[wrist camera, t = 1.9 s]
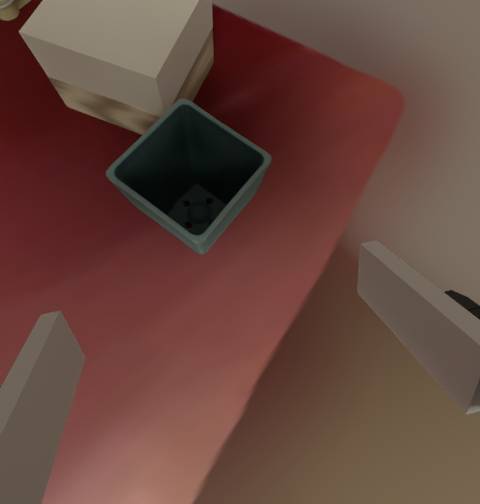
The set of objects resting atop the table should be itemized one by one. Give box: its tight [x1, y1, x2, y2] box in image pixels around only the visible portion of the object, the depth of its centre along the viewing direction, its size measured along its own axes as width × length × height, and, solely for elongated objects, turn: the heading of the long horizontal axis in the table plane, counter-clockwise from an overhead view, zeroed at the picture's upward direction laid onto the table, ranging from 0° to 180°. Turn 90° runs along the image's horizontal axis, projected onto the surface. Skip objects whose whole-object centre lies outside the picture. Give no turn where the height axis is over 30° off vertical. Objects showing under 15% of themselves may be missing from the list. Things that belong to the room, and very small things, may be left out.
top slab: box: [19, 0, 213, 116], centre depth 29 cm, size 12×12×4 cm
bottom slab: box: [47, 28, 214, 135], centre depth 33 cm, size 12×12×4 cm
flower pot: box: [106, 98, 272, 254], centre depth 27 cm, size 9×9×9 cm
